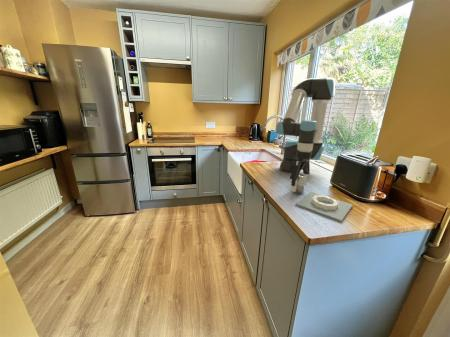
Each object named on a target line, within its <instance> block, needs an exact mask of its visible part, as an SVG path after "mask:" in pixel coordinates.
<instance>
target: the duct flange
mask: <svg viewBox="0 0 450 337" xmlns="http://www.w3.org/2000/svg"><path fill="white" fill-rule="evenodd" d="M295 206H296V207H299V208H301V209H304V210H307V211H309V212H312V213H315V214H318V215H321V216H323V217H325V218H327V219H331V220H333V221H337V222H339V223H342V222H343V221H344V219H345V218H346V217H347V215H348V213H350V211H351V209H352V208H353V207H354V205H353V204H352V203H349V202H345V201H343V200H339V199H335V198H333V197H331V196H327V195H323V194H319V193H316V192H312V191H311V192H309V193H308V194H305V196H304V197H302V198H301V199H299V200H298V201H297V202H296V203H295Z"/></svg>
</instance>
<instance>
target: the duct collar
mask: <svg viewBox="0 0 450 337" xmlns="http://www.w3.org/2000/svg"><path fill="white" fill-rule="evenodd" d="M305 180H306V176H305V175H303V173H299V176H298V178H297V186H296V192H294V191H291V192H292V194H295V195H303V194H304V190H305V186H306V185H305Z"/></svg>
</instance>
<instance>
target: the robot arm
mask: <svg viewBox="0 0 450 337" xmlns="http://www.w3.org/2000/svg"><path fill="white" fill-rule="evenodd" d="M335 82H336V80H335V78H333V77H318V78H307V79H304V80H302V81H300V82H299V83H298V84H297V85H296V86H295V87H294V88H293V90H292V92H291V99H290V102H289V104H288V106H287V110H286V112H285V114H284V116H283V120H282V121H278V122H277V123H276V127H275V133H276V134H277V135H280V136H290V137H293V136H294V137H298V139H290V140H286V141H285V142H284V148H283V156H282V161H281V162H280V165H279V170H280V171H282V172H285V173H291V174H290V176H289V180H291V181H290V182H291V183H290V189H289V190H290V191H291V192H292V191H294V192H296V186H297V178H298V176H299V174H301V171H302V174H303V175H305V176H306V180H305V186H306V185H307V180H308V175H310V170H311V169H310V168H311V167H310V160H312V161H320V160H321V157H322V155H323V152H324V148H325V144H324V142H323V140H322V135H323V131H324V125H325V120H326V114H327V110H328V109H327V108H328V103H330V101H331V100H332V99H333V98H335V88H336V87H335ZM307 98H311V100H310V101H311V102H312V110H311V116H310V120H309V119H306V120H302V121H301V122H297V121H298V117H299V115H300V112H301V109H302V106H303V102H304V101H305V100H306V99H307Z"/></svg>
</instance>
